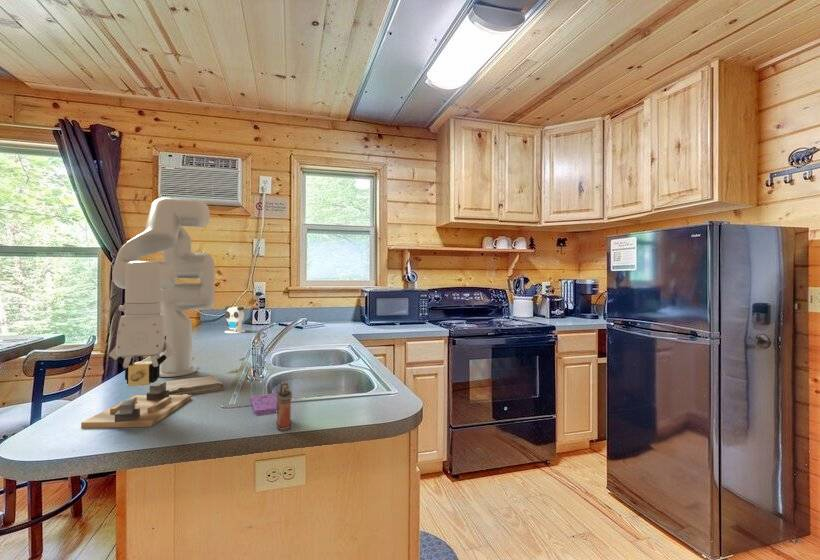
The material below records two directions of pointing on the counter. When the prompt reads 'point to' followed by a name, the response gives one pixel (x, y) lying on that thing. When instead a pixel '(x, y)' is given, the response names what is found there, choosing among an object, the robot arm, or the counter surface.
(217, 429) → the counter surface
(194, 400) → the counter surface
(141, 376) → the coupler
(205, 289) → the robot arm
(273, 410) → the sponges
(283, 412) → the amber flat bottle
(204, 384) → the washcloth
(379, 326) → the counter surface
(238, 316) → the panda figurine
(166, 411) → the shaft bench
